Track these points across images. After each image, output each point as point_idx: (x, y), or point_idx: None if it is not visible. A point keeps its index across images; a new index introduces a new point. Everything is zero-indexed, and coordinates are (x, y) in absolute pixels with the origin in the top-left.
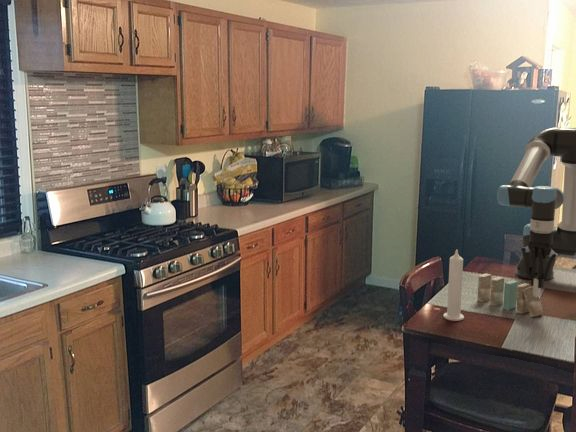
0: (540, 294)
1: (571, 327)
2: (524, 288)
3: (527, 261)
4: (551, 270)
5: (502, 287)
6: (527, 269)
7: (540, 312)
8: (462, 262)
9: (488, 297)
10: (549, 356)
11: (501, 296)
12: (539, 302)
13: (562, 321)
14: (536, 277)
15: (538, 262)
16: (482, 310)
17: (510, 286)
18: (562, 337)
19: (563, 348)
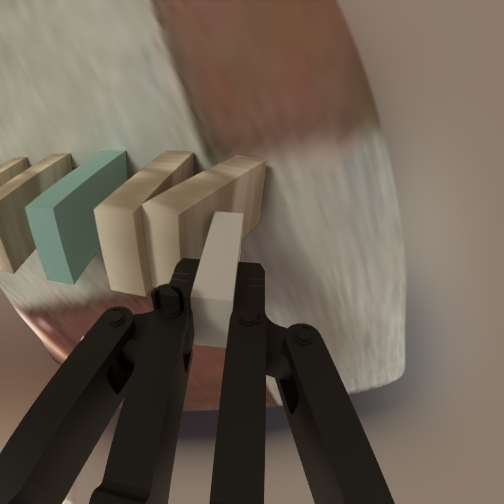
0: (242, 218)
1: (399, 214)
2: (148, 267)
3: (86, 452)
4: (345, 408)
5: (26, 195)
6: (113, 386)
7: (260, 187)
8: (71, 493)
9: (21, 172)
10: (370, 387)
11: (52, 178)
12: (239, 186)
13: (358, 173)
14: (192, 319)
15: (159, 453)
16: (90, 270)
17: (79, 270)
18: (385, 306)
19: (392, 352)
